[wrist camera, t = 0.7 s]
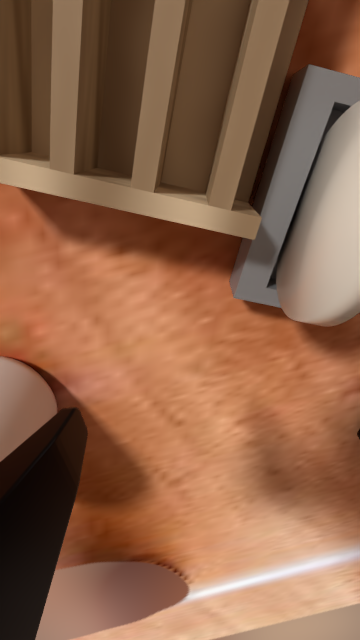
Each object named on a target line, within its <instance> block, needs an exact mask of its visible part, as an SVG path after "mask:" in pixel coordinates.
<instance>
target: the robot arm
mask: <svg viewBox="0 0 360 640" xmlns="http://www.w3.org/2000/svg"><path fill="white" fill-rule="evenodd" d="M87 434H88V433H87V427H86V425H85V422H84V420H83V417H82V415H81V412H80V410H79V409H78V408H76V407H71V408H64V409H62V410H60V411H59V412H58V413H57V414H56V415H55V416H53V417H52V418H51V419H50V420H49V421H47V422H46V423H45V424H44V425H43V426H42V427H40V428H39V429H38V430H37V431H36V432H35V433H33V434H32V435H31V436H30V437H29V438H28V439H26V440H25V441H24V442H23V443H22V444H21V445H19V446H18V447H17V448H16V449H15V450H14V451H12V452H11V453H10V454H9V455H8V456H7V457H5V458H4V459H3V460H2V461H1V462H0V640H35V638H36V634H37V631H38V627H39V624H40V620H41V617H42V613H43V610H44V606H45V603H46V599H47V596H48V593H49V589H50V585H51V582H52V578H53V575H54V572H55V568H56V565H57V561H58V558H59V554H60V551H61V547H62V544H63V540H64V537H65V533H66V530H67V526H68V523H69V519H70V516H71V512H72V509H73V505H74V502H75V498H76V494H77V491H78V486H79V481H80V476H81V470H82V464H83V459H84V453H85V447H86V442H87ZM357 436H358V437H359V439H360V430H359V431H358V433H357Z"/></svg>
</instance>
